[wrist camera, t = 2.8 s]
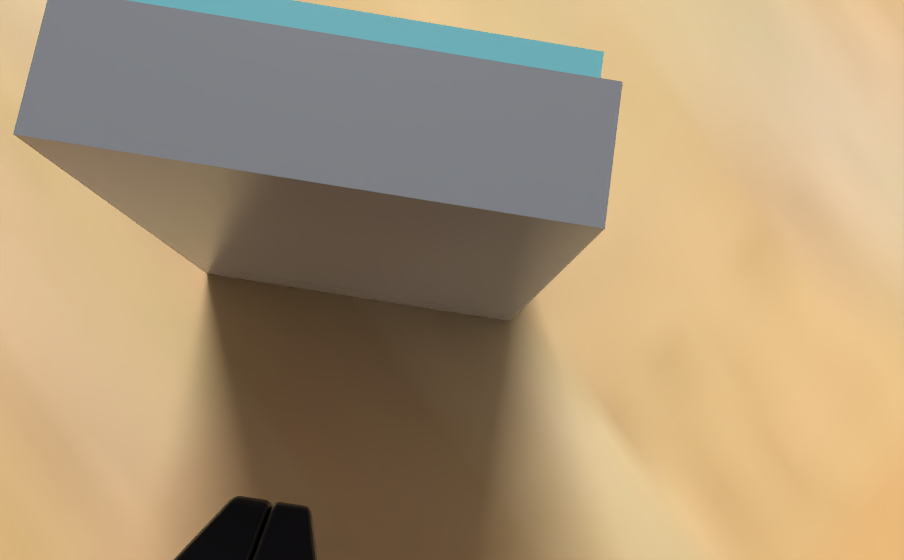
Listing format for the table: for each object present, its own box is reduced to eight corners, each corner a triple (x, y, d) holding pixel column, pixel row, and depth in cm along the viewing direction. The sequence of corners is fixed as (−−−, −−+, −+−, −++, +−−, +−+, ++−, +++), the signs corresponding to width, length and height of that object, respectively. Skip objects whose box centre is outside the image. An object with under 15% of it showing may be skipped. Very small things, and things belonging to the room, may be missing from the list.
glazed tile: (509, 321, 16) (604, 228, 8) (207, 273, 16) (13, 133, 8) (523, 223, 17) (626, 46, 9) (226, 176, 16) (60, -48, 9)
